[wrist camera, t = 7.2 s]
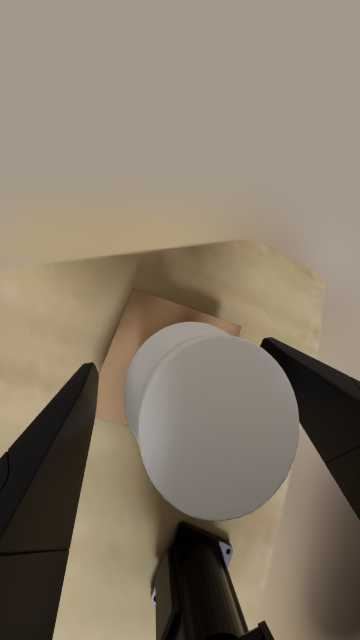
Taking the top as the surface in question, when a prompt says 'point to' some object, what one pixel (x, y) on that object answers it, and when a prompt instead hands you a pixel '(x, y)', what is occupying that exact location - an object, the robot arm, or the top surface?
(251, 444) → the pill bottle
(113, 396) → the small wooden stand
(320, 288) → the top surface
